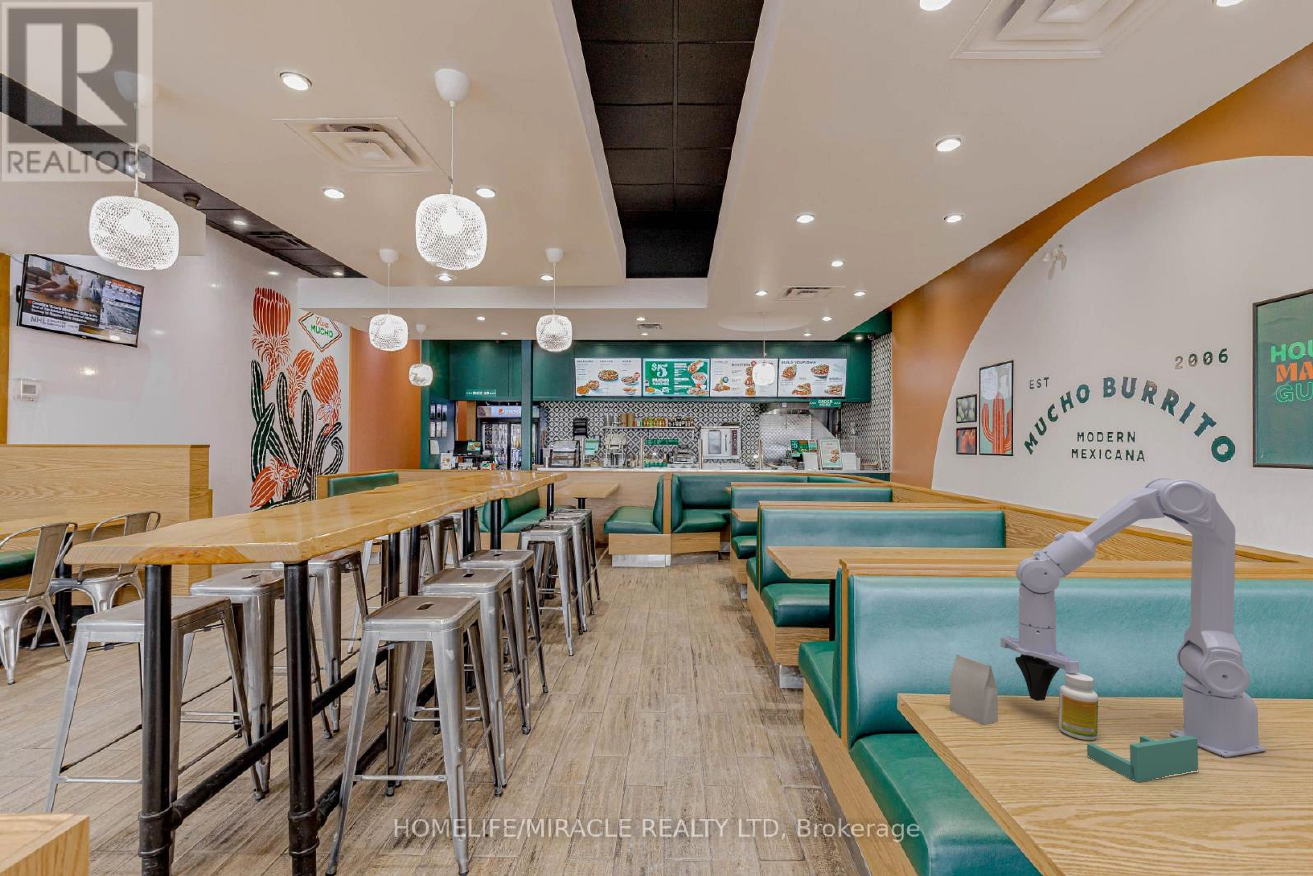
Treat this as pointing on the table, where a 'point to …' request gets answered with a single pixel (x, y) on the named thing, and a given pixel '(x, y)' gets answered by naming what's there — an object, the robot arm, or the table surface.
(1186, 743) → the dock
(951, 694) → the tea bag
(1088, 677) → the supplement bottle
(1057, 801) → the table surface
